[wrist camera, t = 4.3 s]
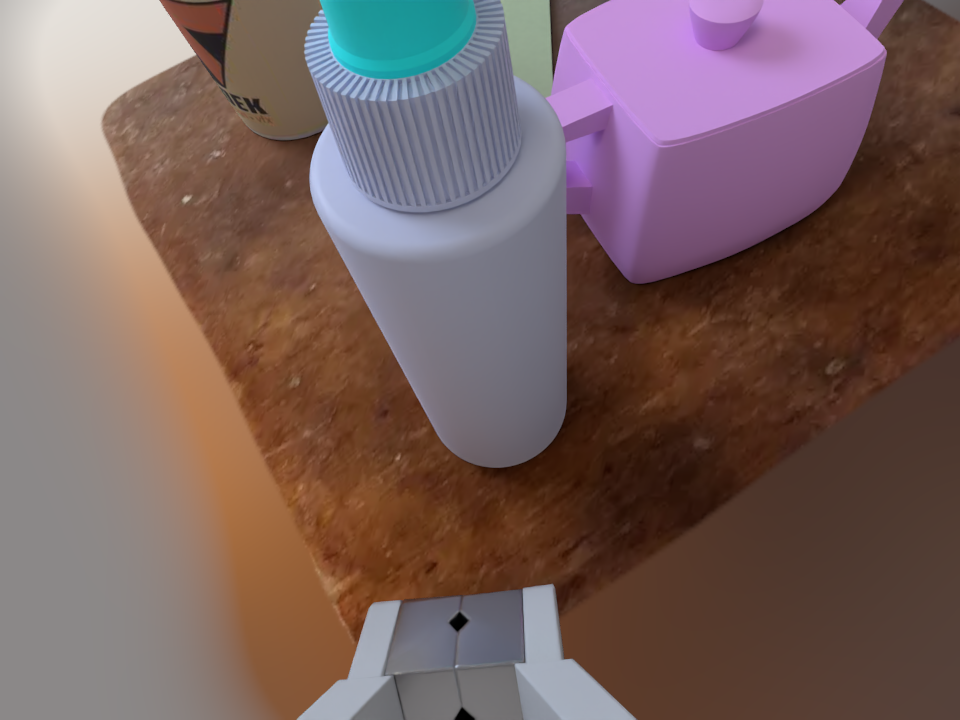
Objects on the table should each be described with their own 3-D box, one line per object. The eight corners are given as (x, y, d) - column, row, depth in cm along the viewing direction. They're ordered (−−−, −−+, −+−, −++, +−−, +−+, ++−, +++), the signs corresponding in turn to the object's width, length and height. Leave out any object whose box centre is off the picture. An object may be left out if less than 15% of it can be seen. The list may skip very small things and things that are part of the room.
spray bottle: (594, 422, 27) (663, -226, 8) (476, 498, 26) (214, -13, 7) (518, 324, 30) (425, -342, 10) (409, 389, 29) (82, -200, 9)
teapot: (780, 62, 35) (854, -150, 26) (910, 187, 30) (1055, -19, 21) (489, 180, 34) (462, 0, 25) (577, 331, 29) (582, 176, 20)
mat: (362, 166, 36) (360, 161, 35) (390, -27, 44) (388, -32, 43) (555, 152, 34) (555, 147, 34) (547, -44, 42) (547, -50, 42)
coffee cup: (202, 99, 40) (71, -108, 30) (321, 26, 42) (238, -193, 31) (274, 176, 36) (153, -32, 26) (401, 91, 38) (337, -134, 28)
